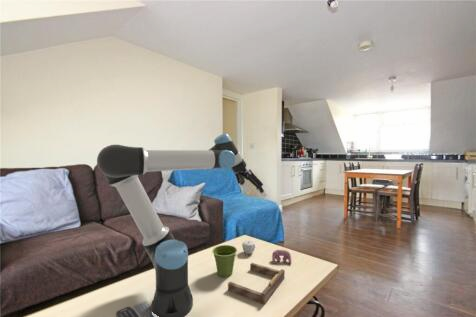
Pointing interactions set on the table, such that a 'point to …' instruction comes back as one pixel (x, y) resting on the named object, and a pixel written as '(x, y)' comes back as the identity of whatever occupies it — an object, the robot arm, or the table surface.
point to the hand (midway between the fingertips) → (256, 195)
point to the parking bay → (267, 291)
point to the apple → (248, 247)
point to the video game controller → (281, 253)
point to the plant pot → (224, 259)
